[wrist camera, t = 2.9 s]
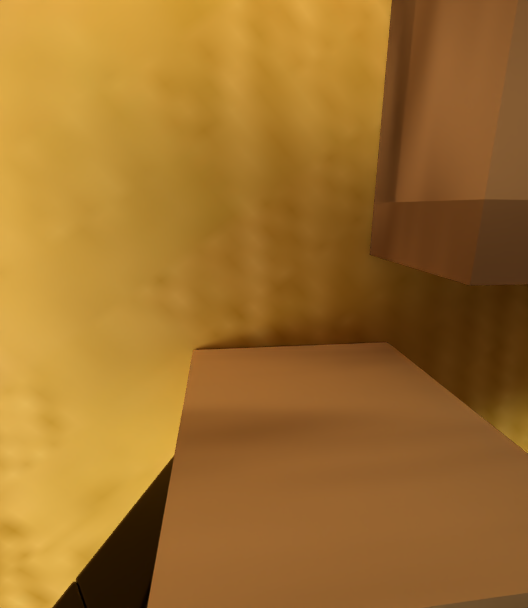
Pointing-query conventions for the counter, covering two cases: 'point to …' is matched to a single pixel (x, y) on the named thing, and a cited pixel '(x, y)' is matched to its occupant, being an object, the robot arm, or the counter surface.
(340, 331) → the counter surface
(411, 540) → the cream cube
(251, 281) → the counter surface
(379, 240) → the bin
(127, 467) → the counter surface
